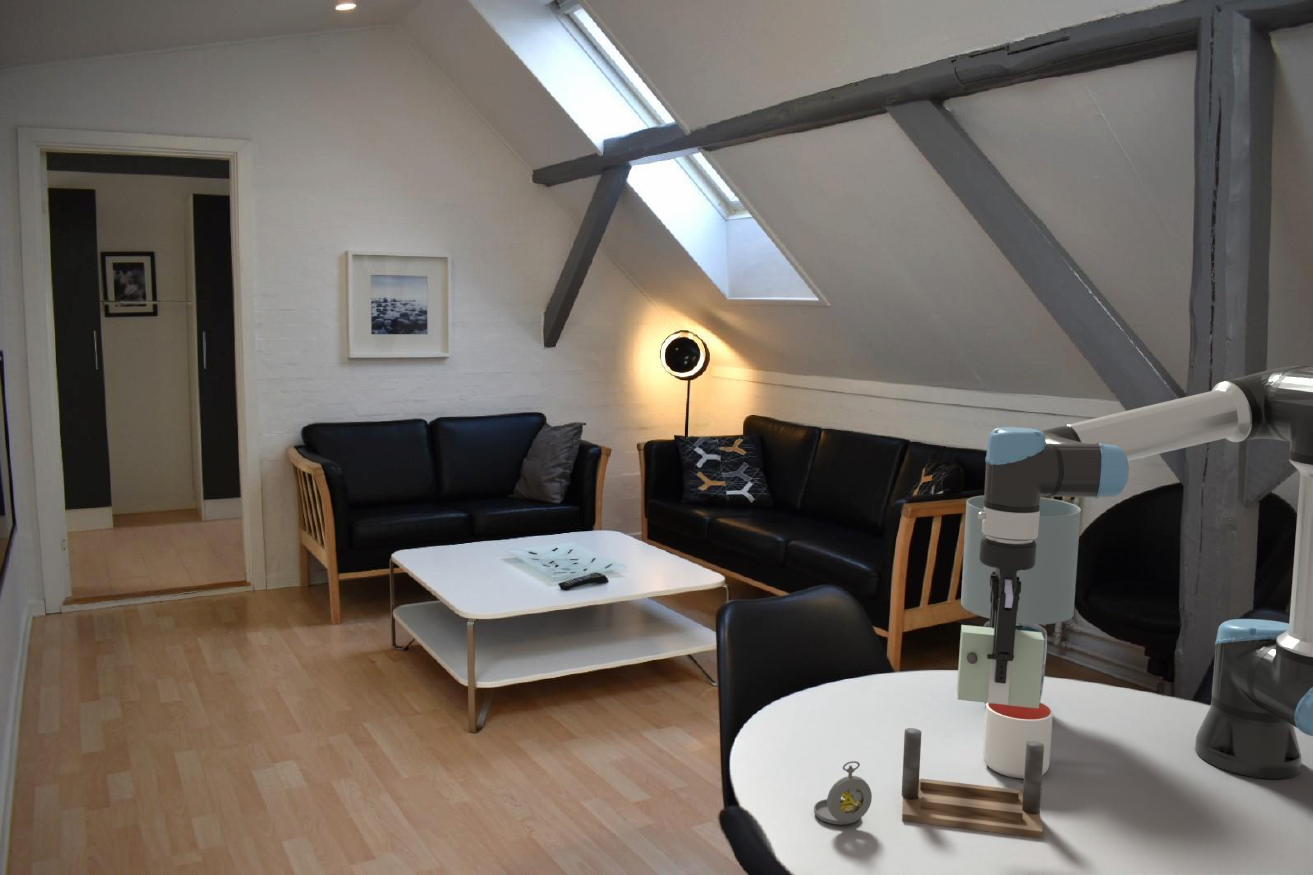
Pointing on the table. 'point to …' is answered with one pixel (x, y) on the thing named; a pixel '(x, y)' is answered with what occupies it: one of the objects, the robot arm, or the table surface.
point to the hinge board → (972, 796)
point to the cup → (1015, 736)
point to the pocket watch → (845, 800)
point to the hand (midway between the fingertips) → (996, 696)
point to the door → (977, 666)
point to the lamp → (1042, 585)
